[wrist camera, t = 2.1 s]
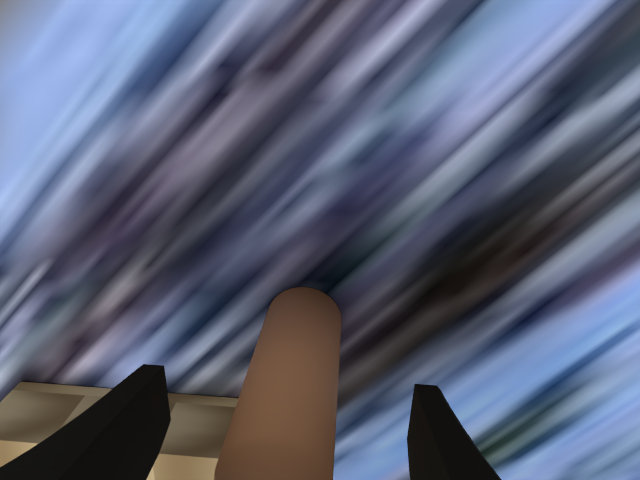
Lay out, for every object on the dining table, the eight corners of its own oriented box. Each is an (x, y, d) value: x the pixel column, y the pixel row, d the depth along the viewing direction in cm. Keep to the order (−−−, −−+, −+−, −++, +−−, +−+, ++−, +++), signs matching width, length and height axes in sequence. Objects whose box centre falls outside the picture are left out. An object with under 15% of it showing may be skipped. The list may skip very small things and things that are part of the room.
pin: (343, 289, 17) (334, 444, 10) (339, 352, 18) (329, 529, 11) (266, 284, 17) (210, 434, 10) (267, 348, 18) (217, 519, 11)
